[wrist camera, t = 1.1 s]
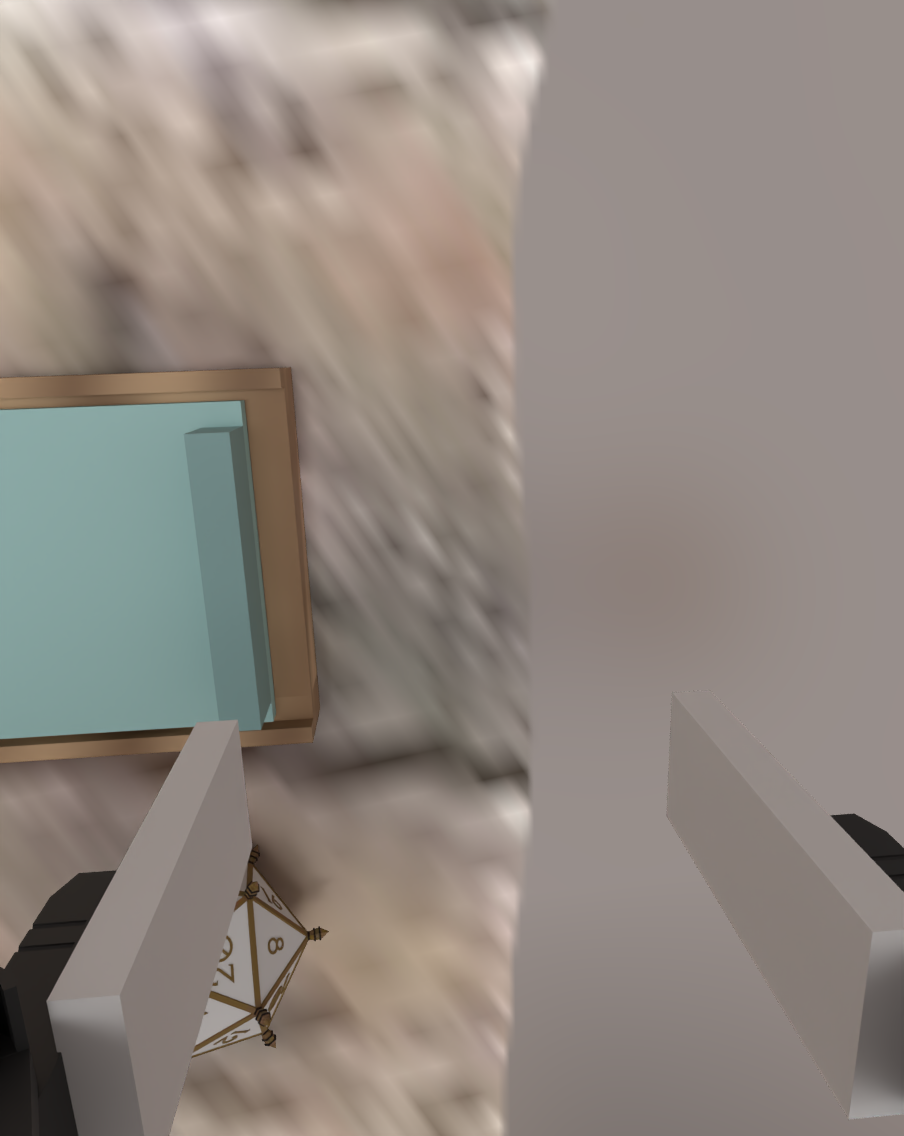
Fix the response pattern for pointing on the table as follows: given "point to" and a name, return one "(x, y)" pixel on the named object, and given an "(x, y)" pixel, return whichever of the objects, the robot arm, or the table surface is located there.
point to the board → (276, 529)
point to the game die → (253, 965)
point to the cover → (130, 570)
